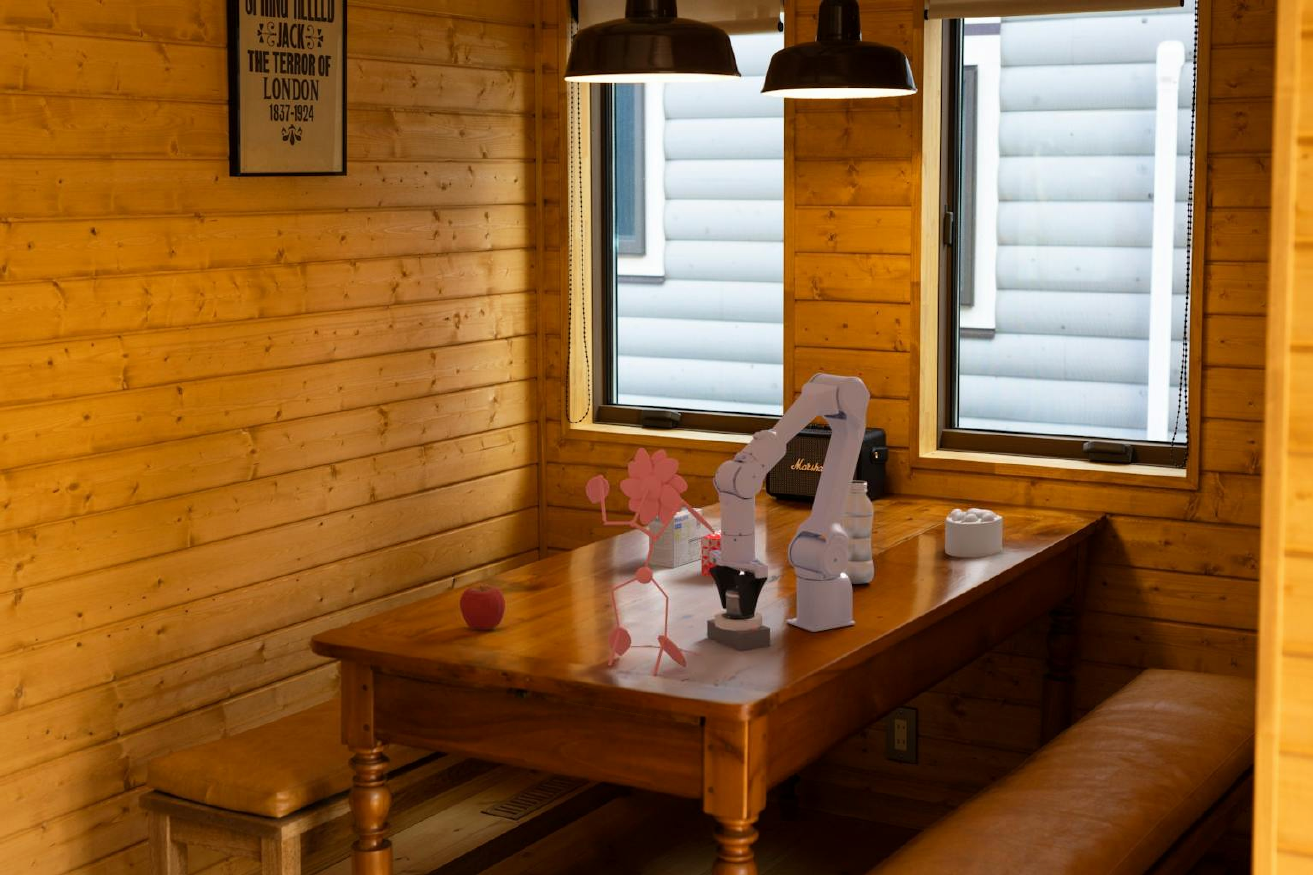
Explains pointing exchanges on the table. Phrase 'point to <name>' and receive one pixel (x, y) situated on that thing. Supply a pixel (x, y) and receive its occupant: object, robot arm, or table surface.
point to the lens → (734, 605)
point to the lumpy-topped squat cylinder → (973, 533)
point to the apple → (482, 607)
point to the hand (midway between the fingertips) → (738, 611)
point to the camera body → (739, 631)
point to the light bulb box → (676, 540)
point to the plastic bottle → (858, 534)
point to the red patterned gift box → (707, 545)
